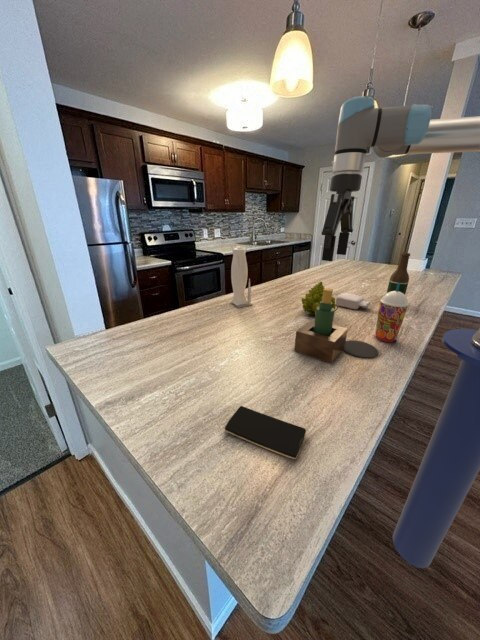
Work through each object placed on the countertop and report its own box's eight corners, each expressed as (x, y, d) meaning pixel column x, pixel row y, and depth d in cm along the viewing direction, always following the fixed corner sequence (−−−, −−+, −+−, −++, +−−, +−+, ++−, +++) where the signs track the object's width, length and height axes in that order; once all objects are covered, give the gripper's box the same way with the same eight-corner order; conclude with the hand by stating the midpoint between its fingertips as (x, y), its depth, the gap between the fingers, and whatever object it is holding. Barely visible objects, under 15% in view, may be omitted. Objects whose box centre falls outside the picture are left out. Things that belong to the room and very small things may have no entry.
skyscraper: (236, 308, 119) (236, 244, 108) (227, 303, 125) (227, 242, 114) (251, 305, 123) (253, 243, 112) (242, 300, 129) (243, 241, 118)
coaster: (381, 348, 85) (381, 347, 85) (372, 362, 77) (373, 361, 77) (347, 338, 92) (347, 337, 92) (336, 350, 84) (336, 349, 84)
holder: (344, 347, 85) (348, 328, 83) (331, 363, 77) (334, 342, 74) (309, 337, 92) (312, 319, 89) (294, 350, 83) (296, 330, 81)
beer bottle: (406, 305, 125) (420, 254, 115) (392, 306, 123) (405, 254, 114) (394, 300, 132) (406, 251, 122) (380, 301, 130) (392, 251, 121)
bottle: (330, 348, 85) (340, 289, 77) (324, 355, 81) (334, 293, 73) (315, 343, 88) (322, 286, 80) (308, 349, 84) (315, 289, 76)
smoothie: (367, 337, 93) (379, 282, 85) (379, 331, 97) (392, 278, 90) (391, 346, 87) (406, 288, 79) (403, 339, 91) (418, 283, 83)
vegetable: (317, 295, 124) (327, 274, 112) (335, 321, 116) (348, 301, 104) (290, 304, 121) (297, 282, 108) (306, 331, 113) (316, 311, 101)
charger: (368, 313, 114) (335, 305, 123) (375, 308, 120) (343, 301, 130) (370, 303, 112) (336, 296, 121) (377, 298, 118) (344, 291, 128)
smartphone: (239, 404, 58) (307, 428, 52) (239, 409, 59) (306, 433, 52) (223, 427, 52) (296, 457, 46) (223, 431, 52) (296, 462, 46)
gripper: (344, 179, 79) (334, 251, 88) (315, 169, 60) (305, 262, 69) (371, 178, 75) (358, 253, 84) (349, 167, 56) (334, 265, 65)
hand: (334, 257), depth 76 cm, fingers open, 13 cm apart
